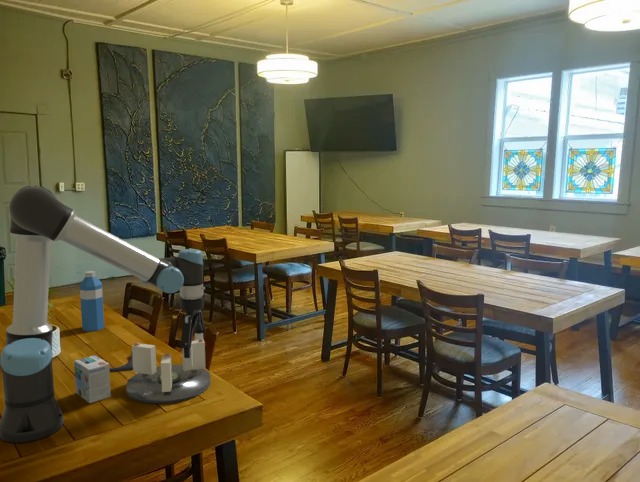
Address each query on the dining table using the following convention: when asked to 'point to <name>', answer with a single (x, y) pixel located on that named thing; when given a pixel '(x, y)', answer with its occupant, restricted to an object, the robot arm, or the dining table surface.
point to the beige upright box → (197, 356)
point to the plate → (182, 388)
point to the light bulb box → (92, 378)
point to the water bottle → (91, 303)
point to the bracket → (124, 366)
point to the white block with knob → (166, 372)
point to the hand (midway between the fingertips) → (194, 359)
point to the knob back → (144, 359)
